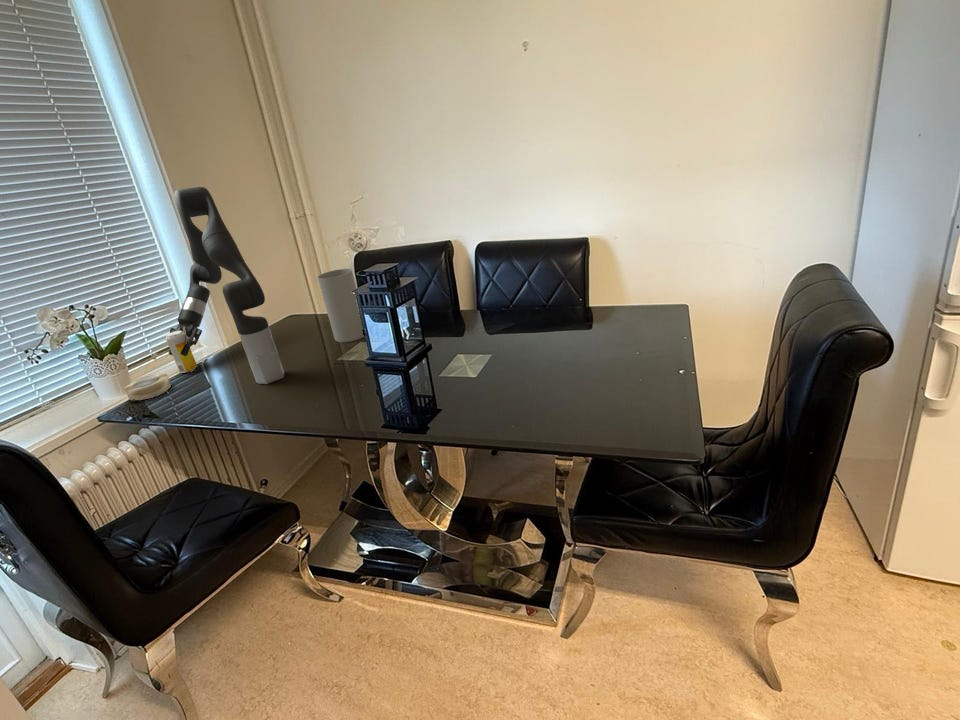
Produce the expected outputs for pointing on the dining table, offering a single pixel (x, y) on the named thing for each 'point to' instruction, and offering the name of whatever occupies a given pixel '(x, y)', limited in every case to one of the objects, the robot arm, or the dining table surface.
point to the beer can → (176, 345)
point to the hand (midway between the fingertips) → (177, 355)
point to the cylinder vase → (341, 304)
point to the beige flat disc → (148, 387)
